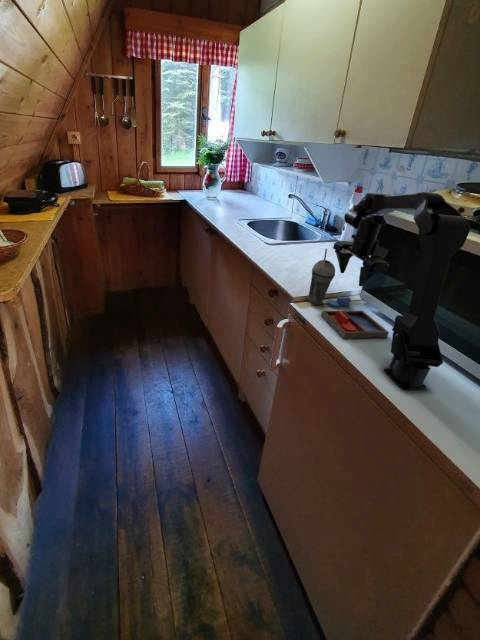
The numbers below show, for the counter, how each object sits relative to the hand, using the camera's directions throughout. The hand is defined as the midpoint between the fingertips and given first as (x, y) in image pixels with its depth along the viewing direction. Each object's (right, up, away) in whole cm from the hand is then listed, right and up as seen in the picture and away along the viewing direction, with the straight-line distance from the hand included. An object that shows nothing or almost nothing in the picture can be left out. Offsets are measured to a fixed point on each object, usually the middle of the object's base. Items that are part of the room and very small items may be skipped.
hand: (350, 279), depth 100 cm
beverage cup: (-9, -8, +7) cm, 14 cm away
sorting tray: (-3, -14, -6) cm, 16 cm away
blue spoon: (-1, -9, +6) cm, 11 cm away
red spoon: (-6, -13, -7) cm, 16 cm away
